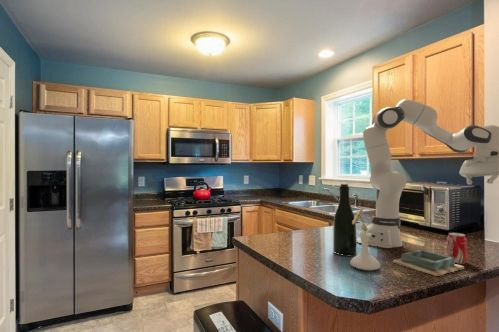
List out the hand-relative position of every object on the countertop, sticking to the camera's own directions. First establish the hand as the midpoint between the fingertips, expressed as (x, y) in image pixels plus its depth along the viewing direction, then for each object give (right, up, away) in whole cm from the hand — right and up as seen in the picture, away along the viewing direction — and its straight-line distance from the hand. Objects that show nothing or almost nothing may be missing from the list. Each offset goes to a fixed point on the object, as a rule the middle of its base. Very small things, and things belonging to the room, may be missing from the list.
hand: (479, 183), depth 134 cm
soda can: (-19, -33, -12) cm, 40 cm away
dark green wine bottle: (-63, -33, +1) cm, 71 cm away
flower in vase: (-62, -33, -19) cm, 73 cm away
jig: (-35, -33, -17) cm, 51 cm away
